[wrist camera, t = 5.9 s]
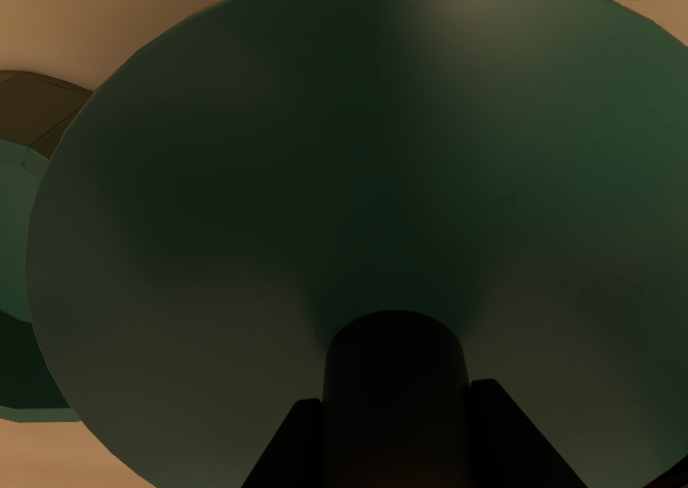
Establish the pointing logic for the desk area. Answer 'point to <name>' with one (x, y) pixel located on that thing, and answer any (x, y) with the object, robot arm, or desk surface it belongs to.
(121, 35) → the desk surface
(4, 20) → the desk surface
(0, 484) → the desk surface
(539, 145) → the lid
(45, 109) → the pot
